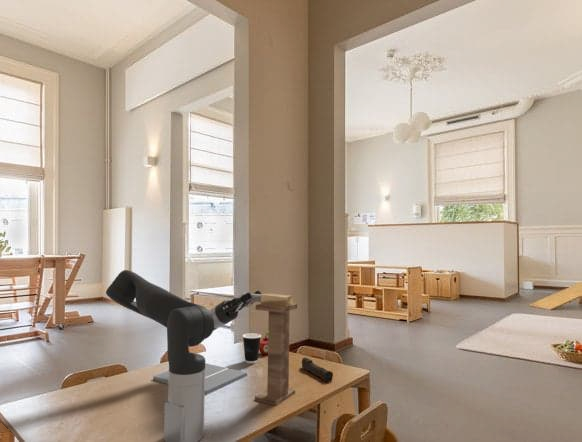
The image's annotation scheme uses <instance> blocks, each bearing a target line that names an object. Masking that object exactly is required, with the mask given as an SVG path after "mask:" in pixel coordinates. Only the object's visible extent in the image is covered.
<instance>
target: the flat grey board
mask: <svg viewBox="0 0 582 442" xmlns="http://www.w3.org/2000/svg"><path fill="white" fill-rule="evenodd" d="M245 377H248V373H247V372H245V371H241V370H237V369H232V368H228V367H224V366H219V365H215V364H211V363H210V364H209V363H206V362H205V395H206V396H207V395H209V394H211V393H214V392H215V391H218V390H219V389H222V388H224V387H226V386H228V385H230V384H233V383H234V382H237V381H239V380H241V379H243V378H245ZM152 380H153V381H156V382H159V383H162V384H167V385H168V383H169V370H167V371H164V372H162V373H159V374H156V375H153V376H152Z"/></svg>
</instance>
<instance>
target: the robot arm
mask: <svg viewBox="0 0 582 442" xmlns="http://www.w3.org/2000/svg"><path fill="white" fill-rule="evenodd" d="M105 293H106V296H107V297H108V298H109V299H111V300H112V302H114V303H116V304H118V305H120V306H122V307H124V308H126V309H128V310H130V311H132V312H134V313H136V314H139V315H142V316H144V317H145V318H149V319H150V320H152V321H155V323H158V324H160V325H161V326H163V327H165V328H166V334H167V335H166V341H167V346H166V347H167V361H168V371H169V383H168V384H167V385H168V387H167V389H168V390H167V391H168V392H167V401H166V402H165V403H164V419H163V420H164V423H163V441H164V442H199V441H200V440H202V439H203V438H204V435H205V434H204V433H205V395H206V394H205V363H206V358H205V356H203V355H202V354H200V353H194V352H191V351H190V348H191V347H197V346H199V345H200V344H201V343H203V342H204V341H205V340H206V339H208V338H209V337H210V336H211V335H212V334H213V332H214V331H216V330H217V329H219V328H221V327H224V326H225V325H228V324H229V323H231V322H232V321H234V320H236V319H237V318H238V316H239V312H240V311H241V312H242V311H243V310H244V309H245V308H249V307H250V306H252V305H253V304H254V303H256V301H248V300H249V299H251V298H252V295H251V294H262V292H261V290H256V291H254V292H253V293H251V292H250V291H249V292H245V293H246V294H244V295H243V296H238V297H233V298H232V299H225V300H223V301H221V302H219V303H218V304H216V305H215V306H213V307H212V308H211V309H210V310H209V309H208V308H206V306H203V305H201V304H197V303H194V302H191V301H188V300H185V299H183V298H181V297H180V296H178V295H176V294H173V293H172V292H170V291H168V290H167V289H165V288H163V287H160V286H158V285H156V284H154V283H152V282H150V281H148V280H146V279H145V278H144V277H142V276H140V275H139V274H137V273H136V272H134V271H132V270H130V269H124V270H122V271H120V272H119V273H118V275H116V276H115V279H114V280H113V281H112V282H111V284H110V285H109V286H108V287H107V289H106V291H105Z"/></svg>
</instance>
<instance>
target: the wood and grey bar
mask: <svg viewBox="0 0 582 442" xmlns="http://www.w3.org/2000/svg"><path fill="white" fill-rule="evenodd" d="M246 293H247V292H242V293H241V296H243V295H244V294H246ZM251 295H252V298H251V299H249V300H248V301H256V302H257V303H260V304H267V305H276V306H285V307H287V306H291V305H293V303H294V295H288V294H287V295H286V294H285V295H284V294H278V293H277V294H276V293H261V294H253V293H251ZM256 302H255V303H256Z"/></svg>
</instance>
